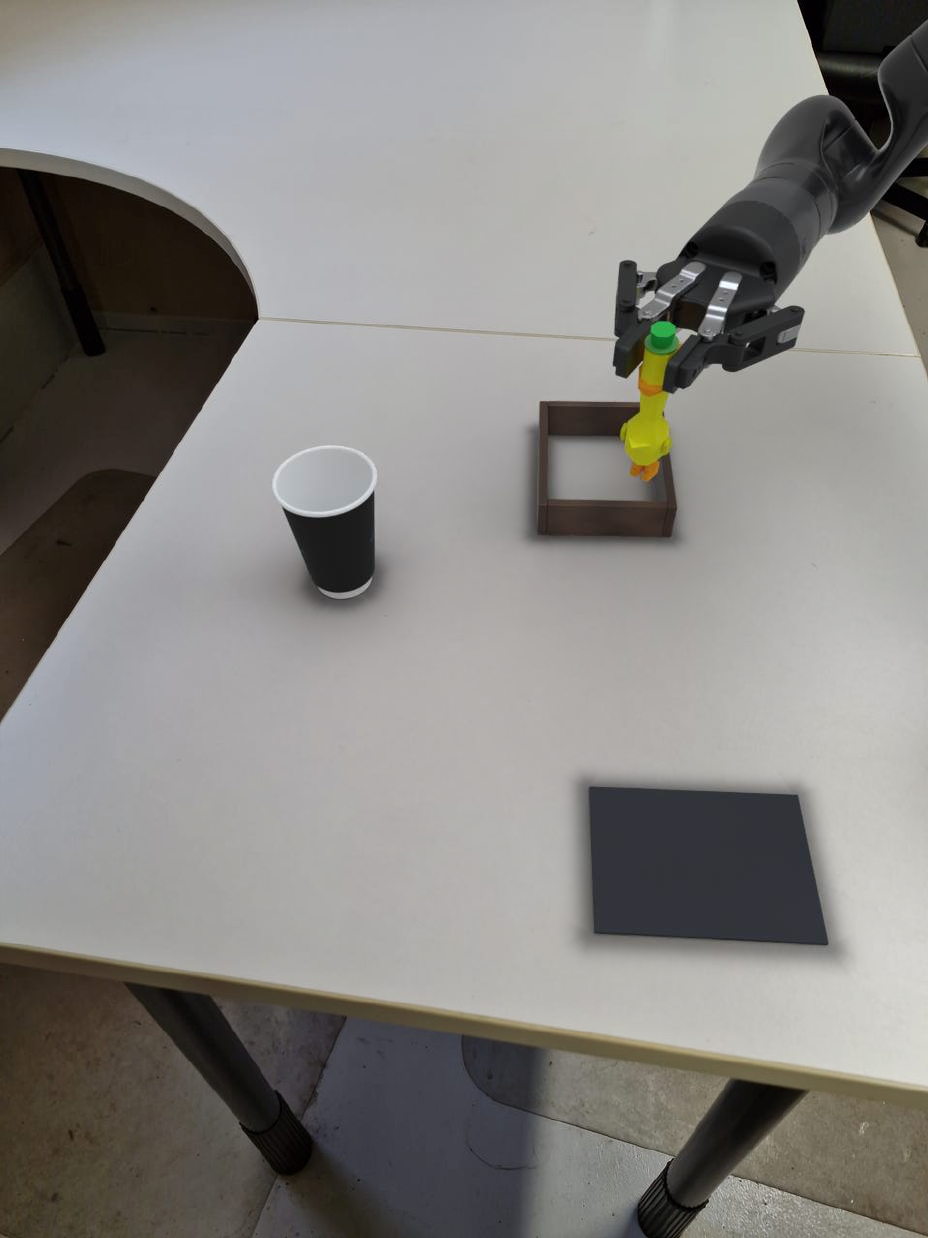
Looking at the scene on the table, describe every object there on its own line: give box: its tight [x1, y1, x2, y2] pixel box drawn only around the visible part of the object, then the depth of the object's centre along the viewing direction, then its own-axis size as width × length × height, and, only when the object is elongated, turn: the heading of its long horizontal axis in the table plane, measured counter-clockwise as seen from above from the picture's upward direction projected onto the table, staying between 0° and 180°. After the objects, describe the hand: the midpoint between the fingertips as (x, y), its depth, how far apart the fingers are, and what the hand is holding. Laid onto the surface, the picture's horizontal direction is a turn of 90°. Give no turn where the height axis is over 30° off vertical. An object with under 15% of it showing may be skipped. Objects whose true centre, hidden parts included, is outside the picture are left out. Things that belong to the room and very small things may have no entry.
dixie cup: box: [271, 444, 379, 600], centre depth 68 cm, size 8×8×11 cm
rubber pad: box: [588, 785, 829, 946], centre depth 55 cm, size 14×10×1 cm
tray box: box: [536, 400, 678, 538], centre depth 78 cm, size 12×15×4 cm
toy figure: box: [619, 321, 683, 483], centre depth 58 cm, size 7×4×12 cm, turn 148°
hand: (644, 371), depth 53 cm, fingers closed on toy figure, 2 cm apart
